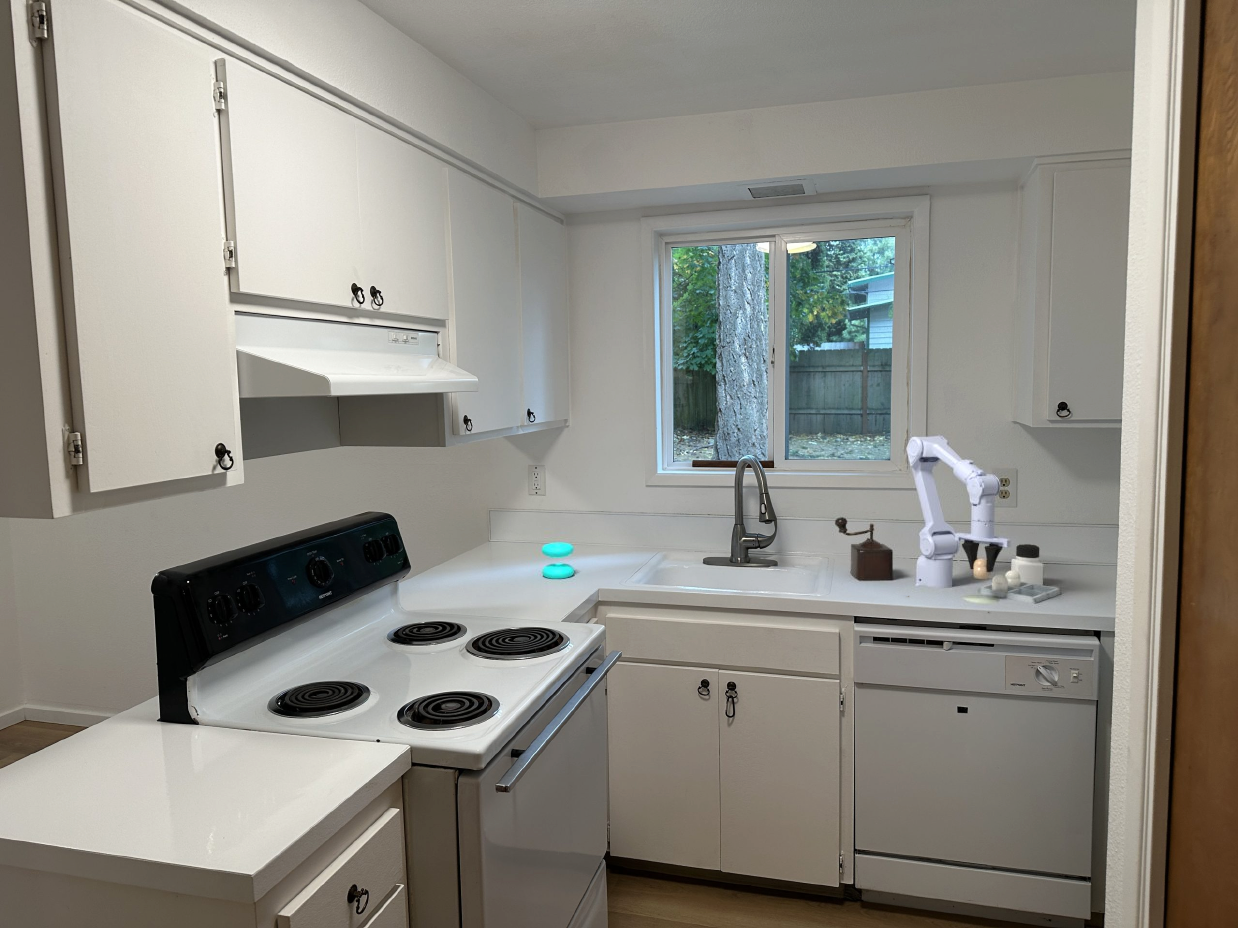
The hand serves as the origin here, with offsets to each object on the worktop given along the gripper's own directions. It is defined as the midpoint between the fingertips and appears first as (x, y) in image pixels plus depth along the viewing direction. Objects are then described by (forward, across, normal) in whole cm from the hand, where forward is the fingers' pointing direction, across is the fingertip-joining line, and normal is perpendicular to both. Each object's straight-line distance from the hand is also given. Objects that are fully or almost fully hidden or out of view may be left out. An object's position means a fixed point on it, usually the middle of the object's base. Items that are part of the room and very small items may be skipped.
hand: (981, 570), depth 233 cm
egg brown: (+2, 0, 0) cm, 2 cm away
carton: (+9, -4, -14) cm, 17 cm away
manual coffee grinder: (+9, +39, -2) cm, 40 cm away
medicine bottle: (+9, 0, -26) cm, 28 cm away
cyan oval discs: (+9, +105, +64) cm, 124 cm away
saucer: (+9, 0, 0) cm, 9 cm away
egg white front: (+8, 0, -10) cm, 13 cm away
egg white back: (+8, 0, -17) cm, 19 cm away
